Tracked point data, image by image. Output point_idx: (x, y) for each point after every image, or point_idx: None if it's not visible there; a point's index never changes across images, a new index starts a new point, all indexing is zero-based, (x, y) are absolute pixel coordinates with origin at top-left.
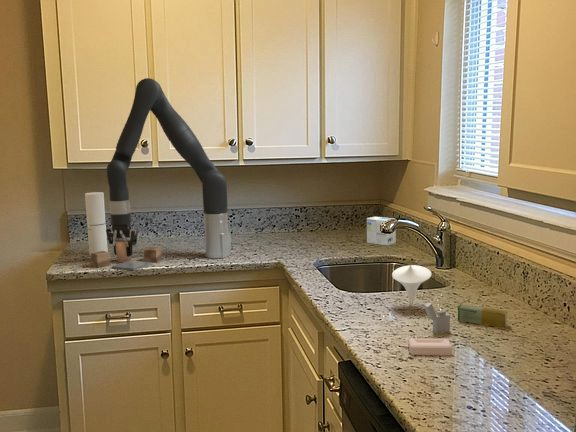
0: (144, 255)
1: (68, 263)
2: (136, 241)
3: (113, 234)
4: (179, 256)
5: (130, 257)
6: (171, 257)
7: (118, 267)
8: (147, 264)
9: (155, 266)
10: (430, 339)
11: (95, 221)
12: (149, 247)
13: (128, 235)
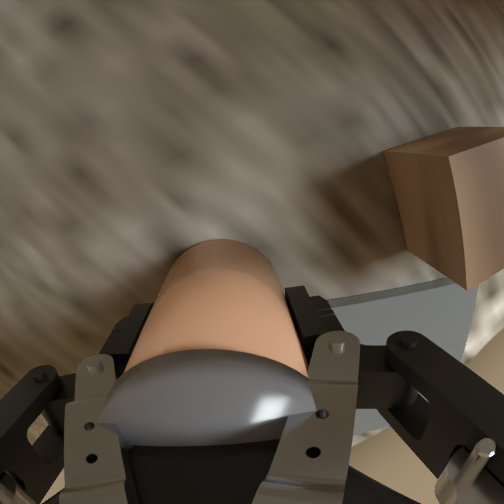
0: (441, 267)
1: (28, 430)
2: (440, 351)
3: (2, 445)
4: (479, 17)
5: (275, 274)
6: (465, 49)
7: (358, 432)
8: (470, 308)
9: (501, 289)
10: None
11: None
12: (465, 173)
13: (351, 473)
